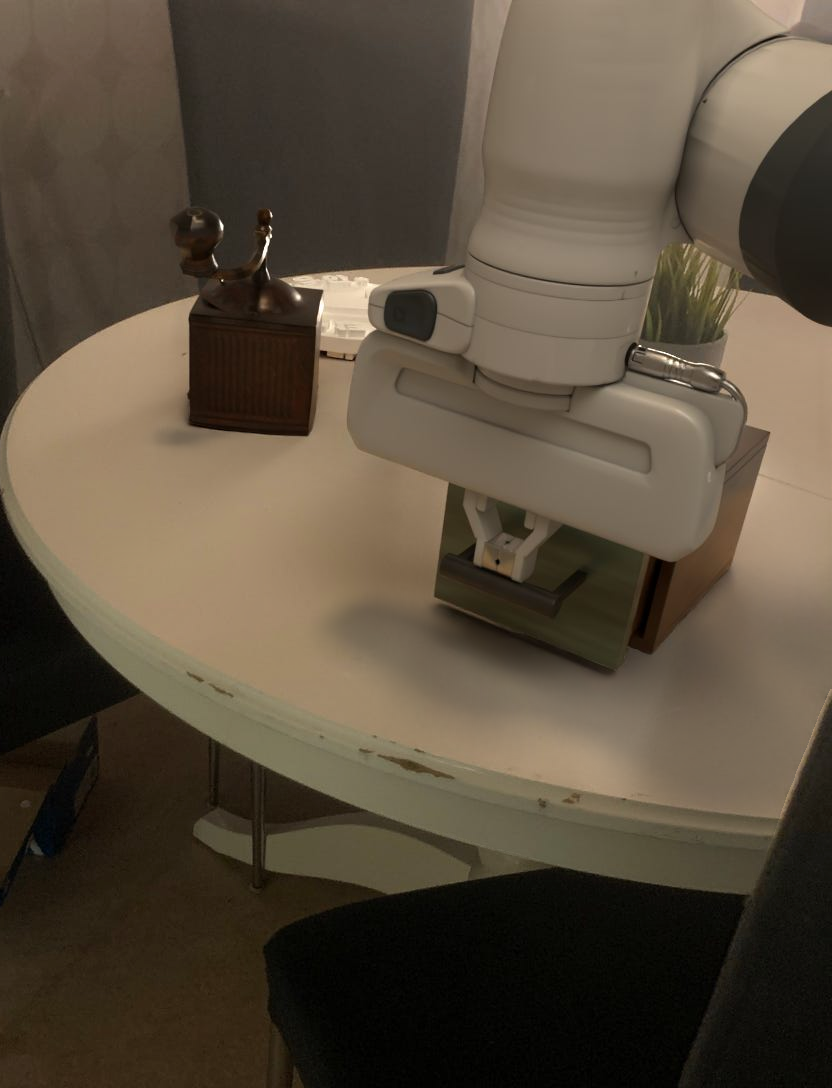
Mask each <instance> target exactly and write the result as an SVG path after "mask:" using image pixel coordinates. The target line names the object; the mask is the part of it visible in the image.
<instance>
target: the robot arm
mask: <svg viewBox="0 0 832 1088" xmlns="http://www.w3.org/2000/svg"><path fill="white" fill-rule="evenodd" d="M482 136H483V137H482V144H481V160H482V167H483V168H482V169H483V178H484V180H483V181H484V182H483V184H484V185H483V188H484V189H483V195H482V201H481V205H480V210H479V212H478V216H477V218H476V221H475V223H474V225H473V227H472V230H471V232H470V235H469V238H468V242H467V248H466V253H465V264H464V263H461V264H452V265H448V266H447V265H446V266H441V267H435V268H431V269H430V268H429V269H426V270H422V271H421V270H420V271H417V272H414V273H409V274H406V275H403V276H400V277H397V278H395V279H392V280H389V281H387V282H385V283H382V284H379V285H380V286H378V287H376V288H374V289H373V290H372V291H371V293H370V296H369V301H368V302H369V303H368V318H369V321H370V323H371V325H372V326H373V327H374V328H376V330H374V331H372V332H370V333H369V334H368V335H367V336H366V337H365V338H364V340H363V341H362V343H361V345H360V347H359V349H358V352H357V354H356V356H355V361H354V366H353V370H352V375H351V381H350V388H349V393H348V403H347V411H346V428H347V431H348V433H349V435H350V437H351V440H352V442H353V444H354V446H355V447H356V449H357V450H359V451H361V452H362V453H366V454H369V455H372V456H375V457H376V458H377V457H378V458H380V459H383V460H386V461H388V462H392V463H394V464H396V465H400V466H402V467H406V468H408V469H410V470H413V471H416V472H419V473H422V474H423V475H424V474H425V475H427V476H431V477H432V478H435V479H439V480H441V481H444V482H447V483H448V482H449V483H452V484H455V485H458V486H460V487H463V488H465V494H464V501H463V507H464V509H465V512H466V515H467V517H468V520H469V523H470V525H471V528H472V531H473V533H474V536H475V538H477V542H476V548H475V554H474V560H473V563H474V565H476V566H478V567H481V568H483V569H486V570H489V571H491V572H494V573H497V574H499V575H502V576H504V577H507V578H509V579H512V580H514V581H517V582H519V583H522V582H523V581H525V580H526V579H527V578H528V577H530V575H531V574H532V572H533V570H534V567H535V562H536V557H537V552H538V548H539V547H540V546H542V545H543V544H544V543H545V542H546V541H547V540H548V539H549V538H550V537H551V536H552V535H553V534H554V533H555V532H556V531H557V530H558V529H559V528H560V527H561V526H562V525H563V524H565V525H568V526H571V527H574V528H576V529H579V530H582V531H585V532H587V533H590V534H593V535H596V536H598V537H601V538H604V539H607V540H609V541H612V542H615V543H618V544H621V545H623V546H626V547H629V548H632V549H634V550H637V551H640V552H643V553H645V554H648V555H651V556H654V557H656V558H659V559H662V560H665V561H669V562H674V561H677V560H679V559H681V558H683V557H685V556H687V555H689V554H690V553H692V552H693V551H695V550H696V549H698V548H699V547H700V546H701V545H702V544H703V543H704V542H705V541H706V540H707V538H708V537H709V536H710V534H711V532H712V530H713V528H714V525H715V522H716V518H717V514H718V509H719V505H720V500H721V495H722V489H723V483H724V476H725V468H726V462H728V461H729V460H730V459H731V458H732V457H733V456H734V455H735V453H736V452H737V450H738V448H739V445H740V442H741V439H742V435H743V432H744V428H745V425H747V422H748V414H749V411H748V410H749V408H748V404H747V401H746V398H745V396H744V394H743V393H742V391H741V390H740V388H739V387H738V386H737V385H736V384H734V383H733V382H732V381H731V380H729V379H727V372H726V371H724V370H722V369H721V368H719V367H716V366H714V365H710V364H707V363H701V362H698V363H694V362H691V361H688V360H684V359H683V358H679V357H676V356H674V355H673V354H670V353H666V352H664V351H660V350H656V349H653V348H649V347H647V346H643V345H639V344H640V341H641V336H642V332H643V327H644V324H645V323H644V322H645V318H646V315H647V310H648V305H649V302H650V297H651V293H652V289H653V284H654V279H655V276H656V272H657V266H658V262H659V258H660V256H661V254H662V252H664V250H665V249H666V248H667V247H669V246H671V245H675V244H678V245H679V244H680V245H690V246H692V247H694V248H696V249H698V250H700V251H701V252H702V253H703V254H705V255H706V256H708V257H709V258H712V259H713V260H715V261H717V262H719V263H721V264H722V265H725V266H727V267H729V268H730V269H733V270H734V271H737V272H739V273H741V274H743V275H745V276H746V277H748V278H751V279H752V280H755V281H756V282H758V284H759V285H761V286H762V287H763V288H764V289H765V290H767V291H769V293H771V294H773V295H774V296H775V297H777V298H778V299H779V300H781V301H783V302H784V303H785V304H786V305H788V306H790V307H791V308H792V309H794V310H795V311H796V312H798V313H799V314H801V315H802V316H804V317H805V318H806V319H808V320H809V321H811V322H813V323H816V324H818V325H821V326H825V327H828V328H832V44H828V43H823V42H821V41H818V40H815V39H812V38H807V37H802V36H798V35H797V36H796V35H794V34H792V29H791V28H790V27H788V26H787V25H784V24H783V23H781V22H779V21H778V20H776V19H775V18H774V17H772V16H771V15H770V14H768V13H767V12H765V11H763V9H761V8H760V7H759V6H758V5H756V3H754V2H753V1H752V0H511V2H510V6H509V9H508V12H507V16H506V19H505V23H504V27H503V31H502V35H501V39H500V43H499V48H498V53H497V57H496V61H495V66H494V72H493V77H492V82H491V87H490V93H489V99H488V104H487V110H486V117H485V122H484V130H483V135H482ZM722 390H725V391H727V393H729V394H727V393H724V392H721V391H722ZM500 501H502V502H505V503H507V504H510V505H513V506H516V507H518V508H521V509H524V510H527V511H526V517H525V522H524V526H525V527H526V528H528V529H531V530H532V529H534V531H533V532H532V533H531V534H530V535H529V536H528V537H527V539H526V540H523V539H520V538H517V537H514V536H512V535H509V534H507V533H505V532H502V531H503V529H502V526H501V522H500V518H499V515H498V511H497V507H496V504H497V503H498V502H500Z"/></svg>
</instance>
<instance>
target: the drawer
mask: <svg viewBox="0 0 832 1088" xmlns="http://www.w3.org/2000/svg"><path fill="white" fill-rule="evenodd" d="M464 494H465V488H463V487H460V486H458V485H455V484H452V483H449V482H447V490H446V499H445V506H444V513H443V522H442V527H441V537H440V544H439V551H438V560H437V567H436V574H435V576H436V577H435V583H434V590H433V598H435V599H438V600H440V601H442V602H445V603H448V604H450V605H453V606H455V607H458V608H460V609H463V610H465V611H468V612H470V613H472V614H475V615H477V616H480V617H482V618H484V619H487V620H490V621H492V622H495V623H497V624H500V625H501V626H504V627H507V628H509V629H512V630H514V631H517V632H518V633H521V634H524V635H527V636H529V637H531V638H534V639H536V640H538V641H541V642H544V643H546V644H548V645H551V646H553V647H556V648H558V649H561V650H563V651H566V652H568V653H571V654H573V655H576V656H578V657H581V658H583V659H586V660H588V661H590V662H593V663H595V664H598V665H600V666H603V667H605V668H607V669H610V670H612V671H617V670H618V669H619V668H620V667H621V665H622V664H623V663H624V662H625V659H626V654H627V650H628V646H629V645H628V642H629V638H630V636H631V635H632V634H633V633H634V632H635V631H636V630H637V629H638V628H639V627H640V625H641V624H642V623H643V622H644V621H645V620H646V619H647V618H648V616H649V612H650V608H651V604H652V600H653V596H654V592H655V588H656V585H657V581H658V577H659V573H660V569H661V565H662V561H663V560H662V559H659V558H656V557H654V556H651V555H648V554H645V553H643V552H640V551H637V550H634V549H632V548H629V547H626V546H623V545H621V544H618V543H615V542H612V541H609V540H607V539H604V538H601V537H598V536H596V535H593V534H590V533H587V532H585V531H582V530H579V529H576V528H574V527H571V526H568V525H565V524H563V525H562V526H561V527H560V528H559V529H558V530H557V531H556V532H555V533H554V534H553V535H552V536H551V537H550V538H549V539H548V540H547V541H546V542H545V543H544V544H543V545H542V546H540V547H539V548H538V552H537V557H536V562H535V567H534V570H533V572H532V574H531V575H530V577H528V578H527V579H526V580H525V581H523V582H522V583H519V582H517V581H514V580H512V579H509V578H507V577H504V576H502V575H499V574H497V573H494V572H491V571H489V570H486V569H483V568H481V567H478V566H476V565H474V563H473V560H474V554H475V548H476V542H477V538H475V536H474V533H473V531H472V528H471V525H470V523H469V520H468V517H467V515H466V512H465V509H464V507H463V501H464ZM496 507H497V511H498V515H499V518H500V522H501V526H502V529H503V531H502V532H505V533H507V534H509V535H512V536H514V537H517V538H520V539H523V540H526V539H527V537H528V536H529V535H530V534H531V533H532V532H533V531H534V529H532V530H531V529H528V528H526V527H525V526H524V522H525V517H526V511H527V510H524V509H521V508H518V507H516V506H513V505H510V504H507V503H505V502H502V501H500V502H498V503H497V504H496Z"/></svg>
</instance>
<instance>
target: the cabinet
mask: <svg viewBox="0 0 832 1088" xmlns="http://www.w3.org/2000/svg"><path fill="white" fill-rule="evenodd" d="M770 437H771V431H770V430H766V429H762V428H759V427H755V426H751V425H748V424H746V425H745V428H744V432H743V435H742V439H741V442H740V445H739V448H738V450H737V452H736V453H735V455H734V456H733V457H732V458H731V459H730V460H729V461H728V462H726V468H725V476H724V483H723V489H722V495H721V500H720V505H719V509H718V514H717V518H716V522H715V525H714V528H713V530H712V532H711V534H710V536H709V537H708V538H707V540H706V541H705V542H704V543H703V544H702V545H701V546H700V547H699V548H698V549H696V550H695V551H693V552H692V553H690V554H689V555H687V556H685V557H683V558H681V559H679V560H677V561H674V562H669V561H665V560H663V561H662V565H661V569H660V573H659V577H658V581H657V585H656V588H655V592H654V596H653V600H652V604H651V608H650V612H649V616H648V618H647V619H646V620H645V621H644V622H643V623H642V624H641V625H640V627H639V628H638V629H637V630H636V631H635V632H634V633H633V634H632V635H631V636H630V638H629V642H628V646H629V647H632V648H635V649H636V650H639V651H641V652H644V653H646V654H649V655H652V654H653V653H654V652H655V651H656V650H657V649H658V648H659V647H660V646H661V644H662V643H663V642H664V641H665V640H666V639H667V638H668V637H669V636H670V635H671V633H672V632H673V631H674V630H675V629H676V628H677V627H678V625H679V624H680V623H681V622H682V621H683V620H684V619H685V618H686V616H688V615H689V614H690V612H691V611H692V610H693V609H694V608H695V607H696V606H697V605H698V604H699V602H700V601H701V600H702V599H703V598H704V597H705V596H706V594H707V593H708V592H709V591H710V590H711V589H712V588H713V587H714V586H715V584H716V583H717V582H718V581H719V580H720V579H721V578H722V577H723V576H724V575H725V573H726V572H727V571H728V570H729V569H730V568H731V567H732V564H733V561H734V557H735V554H736V551H737V547H738V544H739V539H740V537H741V534H742V530H743V527H744V523H745V520H746V516H747V513H748V510H749V507H750V506H749V505H750V504H751V499H752V497H753V493H754V490H755V487H756V483H757V480H758V477H759V473H760V470H761V465H762V463H763V460H764V456H765V453H766V449H767V445H768V442H769V439H770Z"/></svg>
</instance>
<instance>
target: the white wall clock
mask: <svg viewBox="0 0 832 1088" xmlns="http://www.w3.org/2000/svg"><path fill="white" fill-rule="evenodd" d="M369 282H370V279H369V278H368V277H365V276H359V277H357V276H356V277H354V279H353V280H349V276H347V275H343V274H335V275H331V274H330V275H329V274H327V275H322V276H321V279H319V278H315V279H314V277H312V276H310V275H302V276H297V277H293V278H292V281H291V282H288V284H289V285H291V286H293V287H303V288H312V289H321V290H324V305H323V312H322V327H321V341H320V351H325V352H326V357H331V358H338V359H345V360H351V361H352V360H354V359H355V358H356V356H357V352H358V349H359V347H360V345H361V343H362V341H363V340H364V338H365V337H366V336H367V335H368V334H369V333H370V332H372V331H374V330H376V328H374V327H373V326H372V325H371V323H370V321H369V318H368V303H369V302H368V301H369V296H370V293H371V291H372V290H373V289H374V288H376V287H378V286H380V285H381V284H380V283H379V284H378V283H369Z"/></svg>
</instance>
